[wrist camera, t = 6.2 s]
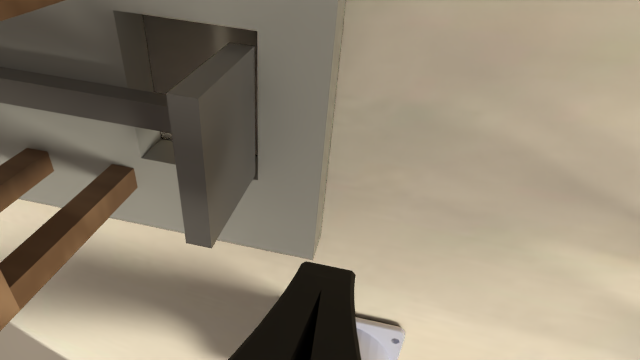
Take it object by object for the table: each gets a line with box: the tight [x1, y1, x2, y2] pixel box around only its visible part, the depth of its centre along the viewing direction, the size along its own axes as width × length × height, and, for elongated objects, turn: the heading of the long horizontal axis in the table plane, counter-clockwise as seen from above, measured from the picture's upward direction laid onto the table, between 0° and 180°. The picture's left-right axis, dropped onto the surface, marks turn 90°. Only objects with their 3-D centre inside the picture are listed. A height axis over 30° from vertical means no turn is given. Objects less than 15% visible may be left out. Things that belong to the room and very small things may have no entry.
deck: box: [0, 0, 346, 260], centre depth 21 cm, size 16×26×2 cm, turn 86°
